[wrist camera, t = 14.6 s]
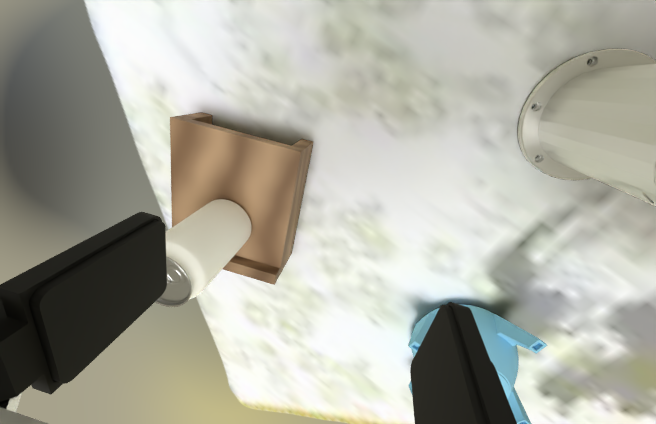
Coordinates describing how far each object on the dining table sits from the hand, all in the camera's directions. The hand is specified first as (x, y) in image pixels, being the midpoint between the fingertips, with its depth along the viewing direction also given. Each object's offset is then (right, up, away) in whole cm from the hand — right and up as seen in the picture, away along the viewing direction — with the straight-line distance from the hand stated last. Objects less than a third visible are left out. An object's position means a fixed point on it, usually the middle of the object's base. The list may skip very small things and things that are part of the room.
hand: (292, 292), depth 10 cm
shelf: (-10, +6, +31) cm, 33 cm away
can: (-11, +2, +26) cm, 29 cm away
